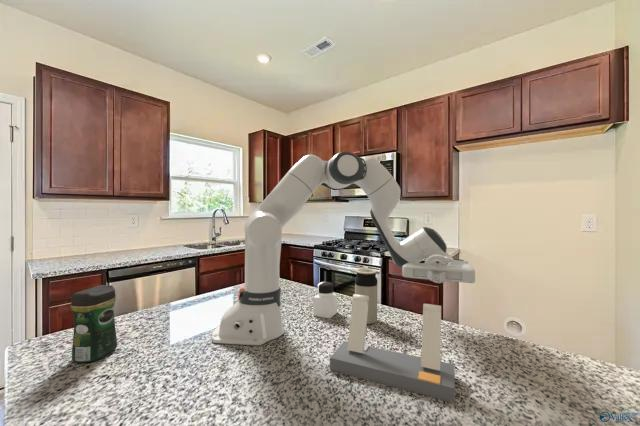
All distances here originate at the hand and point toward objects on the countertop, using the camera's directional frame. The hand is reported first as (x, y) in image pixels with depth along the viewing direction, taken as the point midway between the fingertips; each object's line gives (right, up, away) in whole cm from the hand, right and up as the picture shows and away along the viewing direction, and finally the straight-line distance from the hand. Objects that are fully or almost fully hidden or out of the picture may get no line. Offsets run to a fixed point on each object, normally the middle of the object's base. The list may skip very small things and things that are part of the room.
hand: (435, 278), depth 79 cm
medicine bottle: (-30, -21, +28) cm, 46 cm away
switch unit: (-15, -21, -10) cm, 28 cm away
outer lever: (-7, -17, -14) cm, 24 cm away
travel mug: (-16, -21, +23) cm, 34 cm away
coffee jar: (-94, -21, -2) cm, 97 cm away
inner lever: (-23, -17, -7) cm, 30 cm away
